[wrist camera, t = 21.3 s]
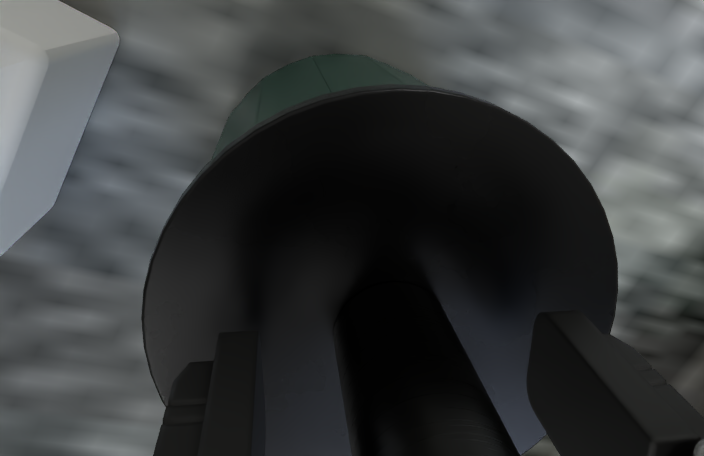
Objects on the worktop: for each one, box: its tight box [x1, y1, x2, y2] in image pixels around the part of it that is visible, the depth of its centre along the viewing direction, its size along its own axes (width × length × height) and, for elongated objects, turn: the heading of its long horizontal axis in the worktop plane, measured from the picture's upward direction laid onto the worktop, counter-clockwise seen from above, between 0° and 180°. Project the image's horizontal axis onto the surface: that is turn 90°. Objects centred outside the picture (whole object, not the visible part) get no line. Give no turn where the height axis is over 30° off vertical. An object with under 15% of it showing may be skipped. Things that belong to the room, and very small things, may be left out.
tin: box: [211, 54, 428, 160], centre depth 17 cm, size 9×9×10 cm
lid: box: [141, 84, 618, 456], centre depth 10 cm, size 10×10×6 cm
